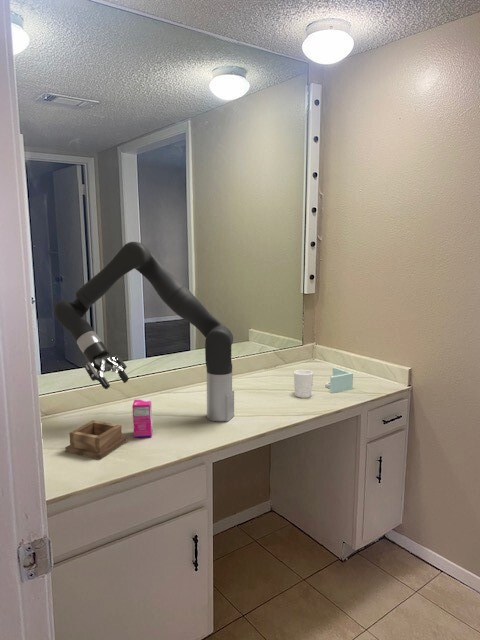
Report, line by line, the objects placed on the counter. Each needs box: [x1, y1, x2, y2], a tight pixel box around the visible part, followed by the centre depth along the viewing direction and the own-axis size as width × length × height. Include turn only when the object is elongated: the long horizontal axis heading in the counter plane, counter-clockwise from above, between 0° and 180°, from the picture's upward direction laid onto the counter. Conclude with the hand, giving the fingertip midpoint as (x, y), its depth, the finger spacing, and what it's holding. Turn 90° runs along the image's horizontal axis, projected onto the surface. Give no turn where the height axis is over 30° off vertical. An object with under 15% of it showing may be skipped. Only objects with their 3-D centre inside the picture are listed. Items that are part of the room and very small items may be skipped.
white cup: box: [293, 369, 314, 399], centre depth 202 cm, size 8×8×10 cm
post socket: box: [64, 419, 127, 460], centre depth 151 cm, size 13×13×6 cm
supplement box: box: [131, 398, 154, 439], centre depth 161 cm, size 6×6×12 cm
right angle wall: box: [324, 366, 354, 394], centre depth 213 cm, size 12×12×8 cm
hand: (117, 384), depth 165 cm, fingers open, 8 cm apart
